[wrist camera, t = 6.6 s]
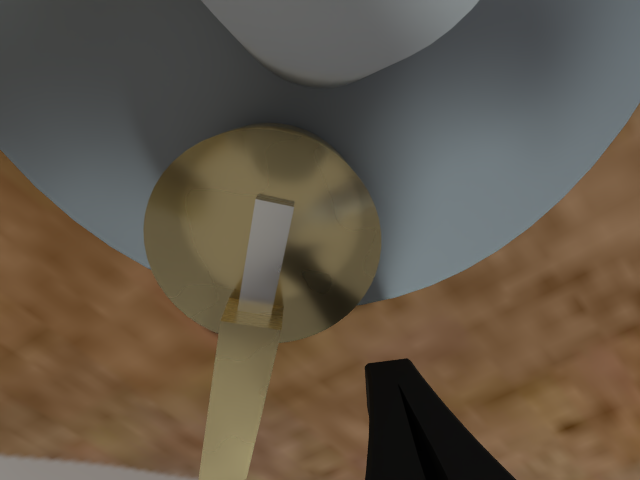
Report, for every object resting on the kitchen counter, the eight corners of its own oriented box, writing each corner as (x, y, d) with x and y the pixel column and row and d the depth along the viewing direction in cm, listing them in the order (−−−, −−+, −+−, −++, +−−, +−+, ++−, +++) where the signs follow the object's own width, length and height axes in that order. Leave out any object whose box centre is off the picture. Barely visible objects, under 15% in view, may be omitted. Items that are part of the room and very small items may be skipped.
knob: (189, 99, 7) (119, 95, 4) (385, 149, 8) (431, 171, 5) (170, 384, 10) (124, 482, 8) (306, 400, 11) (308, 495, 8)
